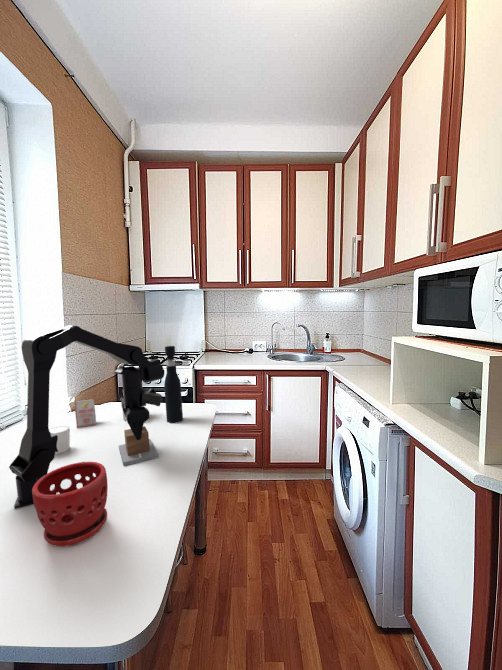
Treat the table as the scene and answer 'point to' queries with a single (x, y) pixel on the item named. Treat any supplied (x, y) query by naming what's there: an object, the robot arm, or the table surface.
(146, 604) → the table surface
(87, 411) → the small printed carton
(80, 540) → the plant pot
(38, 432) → the robot arm
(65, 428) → the white cylinder
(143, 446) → the hollow wooden cube
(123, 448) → the switch plate
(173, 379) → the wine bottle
